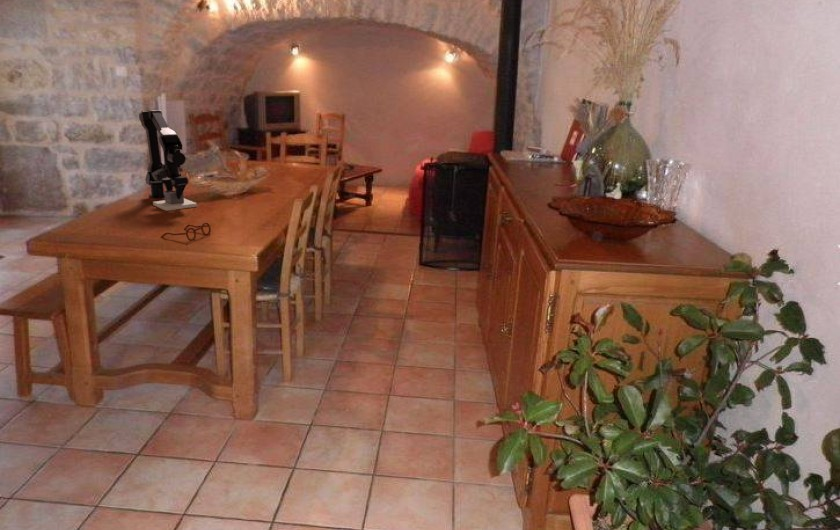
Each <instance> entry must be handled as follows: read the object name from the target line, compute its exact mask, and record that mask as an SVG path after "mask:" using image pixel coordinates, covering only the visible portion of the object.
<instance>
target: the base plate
mask: <svg viewBox="0 0 840 530" xmlns="http://www.w3.org/2000/svg"><path fill="white" fill-rule="evenodd" d="M152 205H153V206H154V207H157V208H159V209H161V210H163V211H166V212H167V211H168V212H169V211H175V210H182V209H189V208H197V207H198V203H197V202H194V201H192V200H190V199H187V198H185V197H184V203H179V204H172V205H171V204H168V203H166V202H165V199H164V200H157V201H155V200H154V201H152Z"/></svg>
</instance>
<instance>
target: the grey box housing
mask: <svg viewBox="0 0 840 530" xmlns="http://www.w3.org/2000/svg"><path fill="white" fill-rule="evenodd" d="M164 194H165V197H164V200H165V202H166V203H168V204H171V205H172V204H179V203H184V198H185V197H184V196H185V195H184V192H183V193H182V196H181V198H180V199H177V195H176V190H175V189H173V190H170V191H167V190H164Z"/></svg>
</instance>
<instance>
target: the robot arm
mask: <svg viewBox="0 0 840 530" xmlns="http://www.w3.org/2000/svg"><path fill="white" fill-rule="evenodd" d="M138 118H139V122H140V123H141V126H142V128H143V129H144V130H145V132H146V140H147V146H148V147H147V148H148V156H149V165H148V166H147V172H146V175H145V184H147V185H148V186H150V194H148V196H149V197H151V198H153V199H158V198H165V194H164V191H170V190H176V195H177V199H180V198H181V196H182V193H183V194H184V191H185V188H186V187H187V185H188V184H189V178H187V176H184V175H183V176H182V174H181V173H180V169H179V168H181V166H183V165H184V164H185V162H186V159H187V158H186V155H185V154H184V153H182V152H181V151H182V150H183V143H182V141H181V139H180V137H179V135H178V134H177V133H176V131H174V130H173V129H171V128H170V127H169V125H168V123H167V122H166V120H165V118H164V116H163V112H162V110H161V109H150V110H142V111H141V112H140V113H139V114H138ZM158 133H159V136H158ZM159 145H160V146H161V149H162V152H163V161H164V164H163V163H162V161H161V154H160V153H161V152H160V146H159ZM165 189H166V190H165Z"/></svg>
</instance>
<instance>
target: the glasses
mask: <svg viewBox="0 0 840 530" xmlns="http://www.w3.org/2000/svg"><path fill="white" fill-rule="evenodd" d="M204 228H208V232H207V233H205V231H204ZM183 229H184V231H185V232H178V233H172V232H165V233H164V234H162V235H160V238H164V237H165V236H167V235H171V236H182V235H183V236H184V235H186V239H187V240H188V241H189V242H190V241H191V242H192V241H194V240H196V238H197V237H196V236H197V233H196V232H197V231H200V230H201V233H202V234H203V235H204V236H208V235H210V233H211V226H210V224H209V223H208V222H204V223H202V225H194V224H187V225H186V226H185V227H184V228H183ZM190 230H192V232H193V238H190V237H189V232H190Z"/></svg>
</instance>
